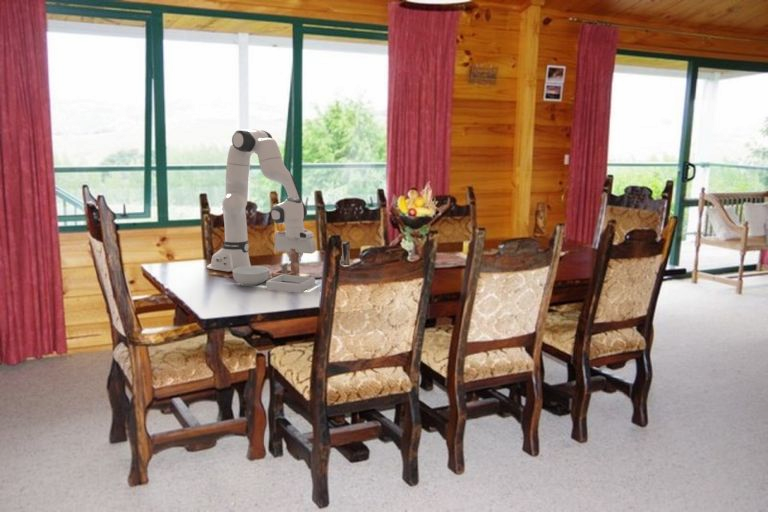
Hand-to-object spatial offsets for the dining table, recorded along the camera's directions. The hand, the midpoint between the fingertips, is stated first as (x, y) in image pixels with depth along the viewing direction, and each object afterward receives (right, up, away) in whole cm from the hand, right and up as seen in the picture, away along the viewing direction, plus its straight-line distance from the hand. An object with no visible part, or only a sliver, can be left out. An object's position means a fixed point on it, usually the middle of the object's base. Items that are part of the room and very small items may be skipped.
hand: (295, 261), depth 333 cm
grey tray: (0, -12, -15) cm, 19 cm away
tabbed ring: (-4, -7, +3) cm, 9 cm away
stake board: (-3, -8, +4) cm, 9 cm away
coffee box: (+21, -7, +12) cm, 25 cm away
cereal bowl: (-19, -11, -9) cm, 24 cm away
